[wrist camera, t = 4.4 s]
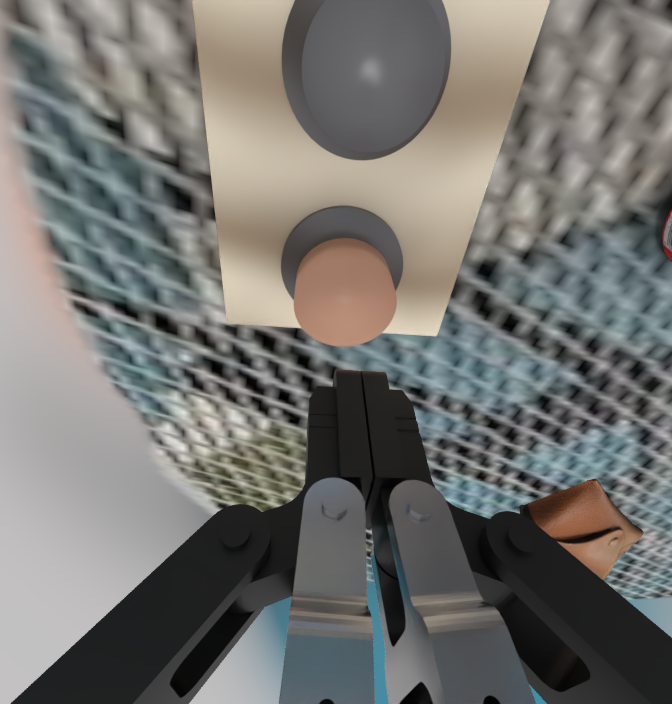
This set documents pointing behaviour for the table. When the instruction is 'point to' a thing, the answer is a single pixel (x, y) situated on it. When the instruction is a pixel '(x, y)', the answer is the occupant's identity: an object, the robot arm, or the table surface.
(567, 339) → the table surface
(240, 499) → the table surface
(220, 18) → the button board
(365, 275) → the terracotta button
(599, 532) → the sunglasses case
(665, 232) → the soda can
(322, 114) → the charcoal button
